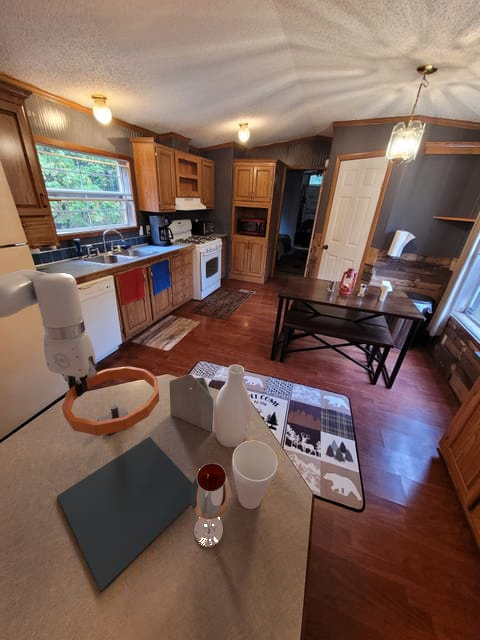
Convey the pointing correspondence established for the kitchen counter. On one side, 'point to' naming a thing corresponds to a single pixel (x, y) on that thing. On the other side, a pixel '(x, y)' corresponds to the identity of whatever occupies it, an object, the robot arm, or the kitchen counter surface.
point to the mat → (125, 508)
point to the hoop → (116, 423)
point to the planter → (192, 401)
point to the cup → (253, 471)
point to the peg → (114, 414)
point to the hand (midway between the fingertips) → (79, 392)
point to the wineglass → (210, 502)
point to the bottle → (232, 409)
